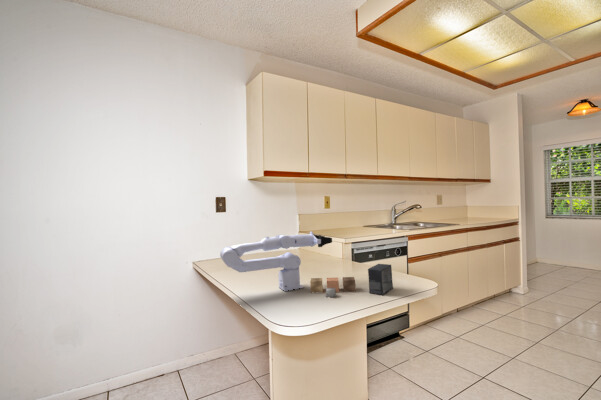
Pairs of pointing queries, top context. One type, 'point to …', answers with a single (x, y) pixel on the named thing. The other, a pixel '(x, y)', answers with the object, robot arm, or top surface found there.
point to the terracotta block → (333, 283)
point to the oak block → (316, 285)
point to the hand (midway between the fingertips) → (328, 239)
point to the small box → (380, 279)
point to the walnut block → (349, 284)
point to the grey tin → (330, 292)
